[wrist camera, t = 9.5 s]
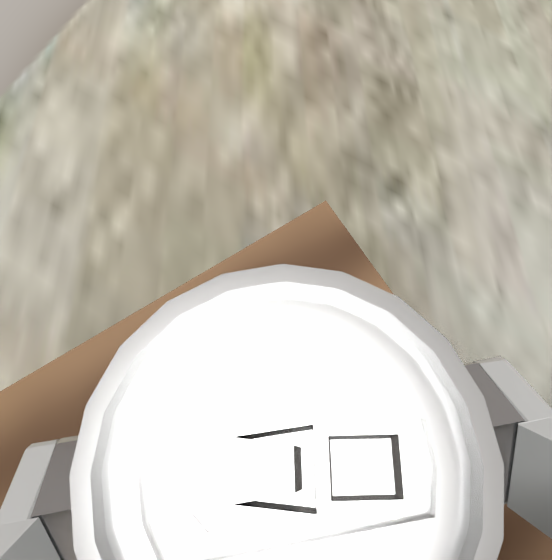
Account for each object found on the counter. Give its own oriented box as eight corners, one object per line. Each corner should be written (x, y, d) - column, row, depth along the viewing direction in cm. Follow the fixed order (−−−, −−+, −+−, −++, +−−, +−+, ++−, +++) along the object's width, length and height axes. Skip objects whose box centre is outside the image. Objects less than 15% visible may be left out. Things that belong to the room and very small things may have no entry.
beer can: (351, 363, 18) (490, 242, 7) (361, 529, 16) (568, 754, 5) (200, 366, 18) (71, 250, 6) (196, 533, 16) (18, 771, 5)
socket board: (542, 557, 25) (605, 587, 20) (189, 831, 22) (164, 942, 17) (318, 237, 30) (325, 200, 25) (4, 425, 27) (-56, 424, 22)
